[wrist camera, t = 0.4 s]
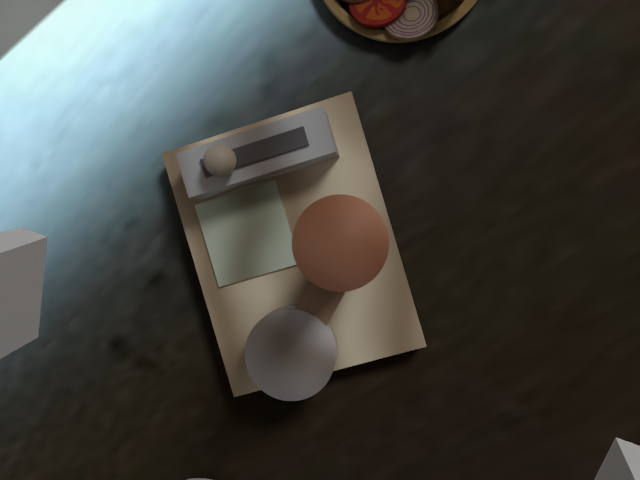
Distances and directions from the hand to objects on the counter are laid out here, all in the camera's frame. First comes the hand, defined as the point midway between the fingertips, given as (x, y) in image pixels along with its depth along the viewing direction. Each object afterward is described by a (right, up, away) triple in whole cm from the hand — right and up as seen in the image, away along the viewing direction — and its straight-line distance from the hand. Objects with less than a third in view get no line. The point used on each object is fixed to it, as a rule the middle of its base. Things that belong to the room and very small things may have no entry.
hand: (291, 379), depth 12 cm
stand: (-1, +3, +27) cm, 28 cm away
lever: (+1, -1, +25) cm, 25 cm away
